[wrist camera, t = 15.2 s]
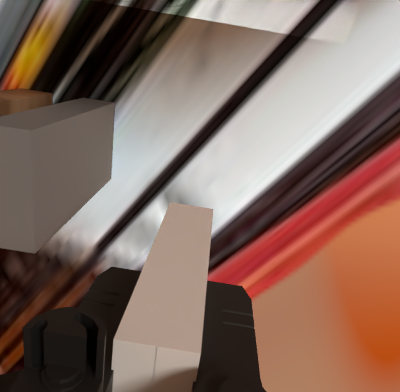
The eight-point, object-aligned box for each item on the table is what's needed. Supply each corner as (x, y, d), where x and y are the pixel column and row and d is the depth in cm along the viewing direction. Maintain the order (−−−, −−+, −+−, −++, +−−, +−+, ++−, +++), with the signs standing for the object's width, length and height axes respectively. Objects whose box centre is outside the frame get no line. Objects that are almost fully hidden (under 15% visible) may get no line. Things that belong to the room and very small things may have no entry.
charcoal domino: (81, 174, 24) (-14, 245, 14) (83, 97, 22) (-25, 121, 12) (110, 178, 23) (34, 253, 14) (114, 102, 22) (31, 130, 12)
